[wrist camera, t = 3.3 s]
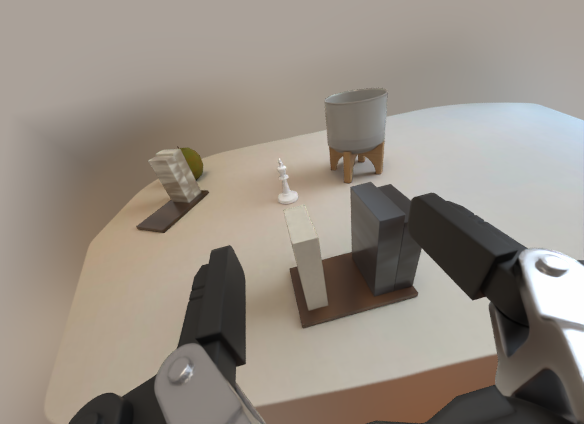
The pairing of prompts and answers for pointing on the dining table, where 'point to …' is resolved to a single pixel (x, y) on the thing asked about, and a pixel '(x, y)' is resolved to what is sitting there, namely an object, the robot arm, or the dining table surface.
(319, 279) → the white book
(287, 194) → the chess piece
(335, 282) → the grey book stand
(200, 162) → the apple
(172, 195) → the white book stand
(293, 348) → the dining table surface
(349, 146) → the planter
